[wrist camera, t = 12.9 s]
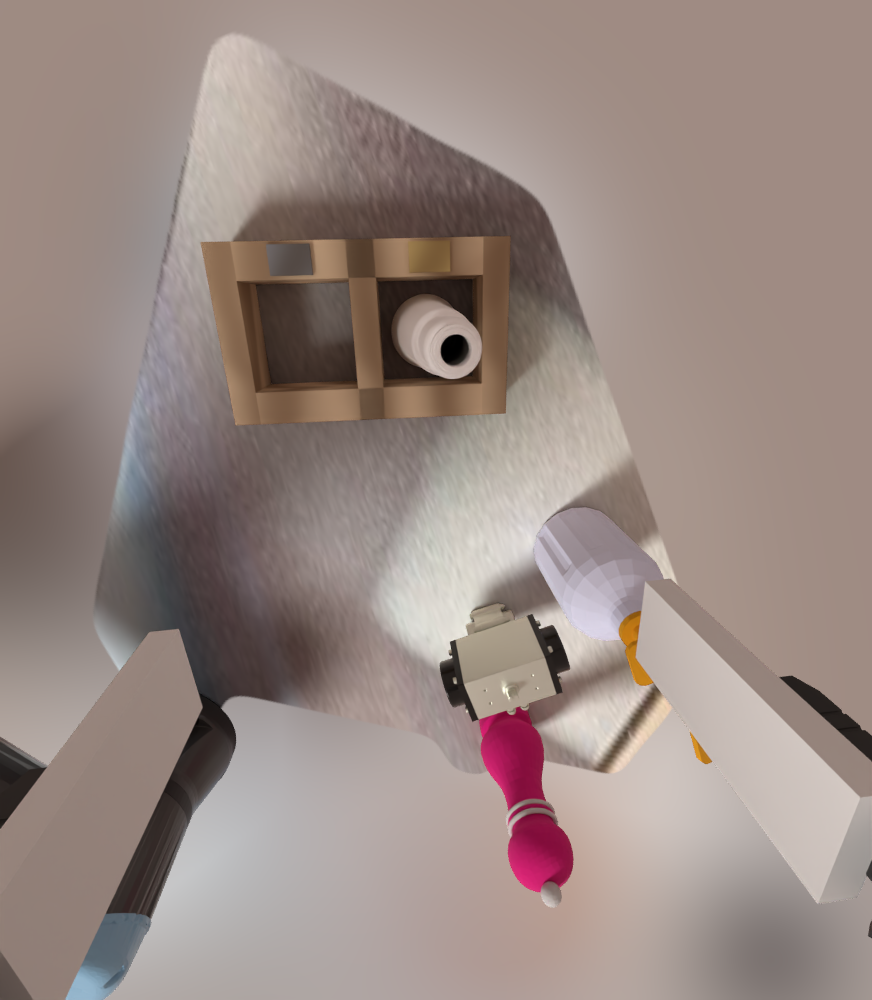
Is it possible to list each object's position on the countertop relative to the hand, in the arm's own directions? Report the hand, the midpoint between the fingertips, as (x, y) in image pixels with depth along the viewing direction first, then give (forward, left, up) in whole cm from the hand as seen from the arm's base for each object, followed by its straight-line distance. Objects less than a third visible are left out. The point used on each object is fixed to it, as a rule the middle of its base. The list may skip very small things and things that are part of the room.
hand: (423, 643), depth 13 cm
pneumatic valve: (+8, -24, -33) cm, 41 cm away
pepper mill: (+10, -39, -33) cm, 52 cm away
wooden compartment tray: (-3, +7, -32) cm, 33 cm away
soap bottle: (+17, -15, -33) cm, 40 cm away
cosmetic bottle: (+2, +7, -33) cm, 34 cm away
